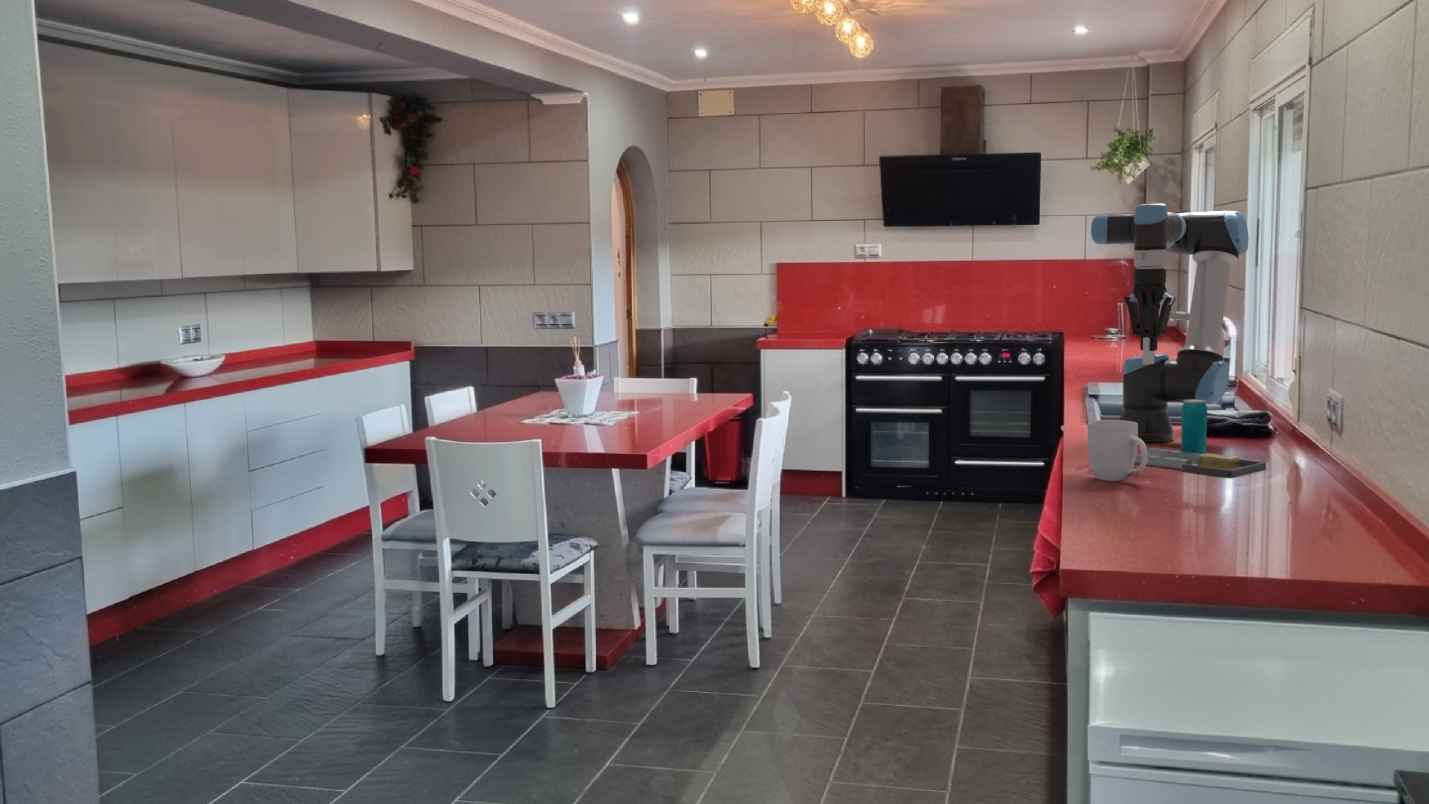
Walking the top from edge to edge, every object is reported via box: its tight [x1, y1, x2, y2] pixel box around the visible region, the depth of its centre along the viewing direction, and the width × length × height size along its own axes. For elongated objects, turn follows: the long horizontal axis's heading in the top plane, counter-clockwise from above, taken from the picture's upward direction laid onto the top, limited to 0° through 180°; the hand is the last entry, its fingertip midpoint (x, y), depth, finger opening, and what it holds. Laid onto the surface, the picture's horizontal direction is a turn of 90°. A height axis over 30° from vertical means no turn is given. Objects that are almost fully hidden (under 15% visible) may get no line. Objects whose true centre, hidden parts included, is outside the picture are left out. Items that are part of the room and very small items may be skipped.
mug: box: [1087, 419, 1148, 482], centre depth 281 cm, size 15×11×13 cm
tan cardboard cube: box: [1214, 454, 1241, 470], centre depth 282 cm, size 4×4×4 cm
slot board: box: [1135, 447, 1201, 471], centre depth 294 cm, size 12×16×4 cm
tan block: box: [1197, 452, 1223, 468], centre depth 286 cm, size 4×4×4 cm
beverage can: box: [1180, 399, 1208, 454], centre depth 303 cm, size 6×6×15 cm
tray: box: [1182, 458, 1267, 478], centre depth 283 cm, size 15×12×3 cm
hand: (1148, 363), depth 303 cm, fingers closed
